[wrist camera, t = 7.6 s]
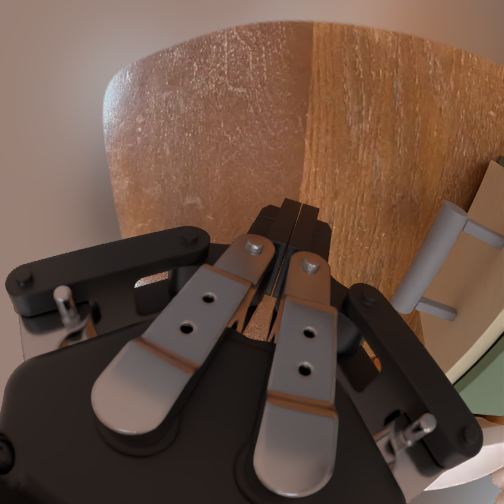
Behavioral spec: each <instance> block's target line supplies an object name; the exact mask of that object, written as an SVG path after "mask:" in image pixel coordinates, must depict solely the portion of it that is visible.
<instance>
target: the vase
mask: <svg viewBox="0 0 504 504" xmlns="http://www.w3.org/2000/svg"><path fill="white" fill-rule="evenodd" d="M492 481H493V483H494V484H495V485H496V486H498V487H500V488H501V489H502V491H501V492H500V494H499V495H498V496H497V498H496V499H495V502H494V504H504V466H503V467H501V468H500V469H498V470H496V471H494V472H493V473H492Z"/></svg>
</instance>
